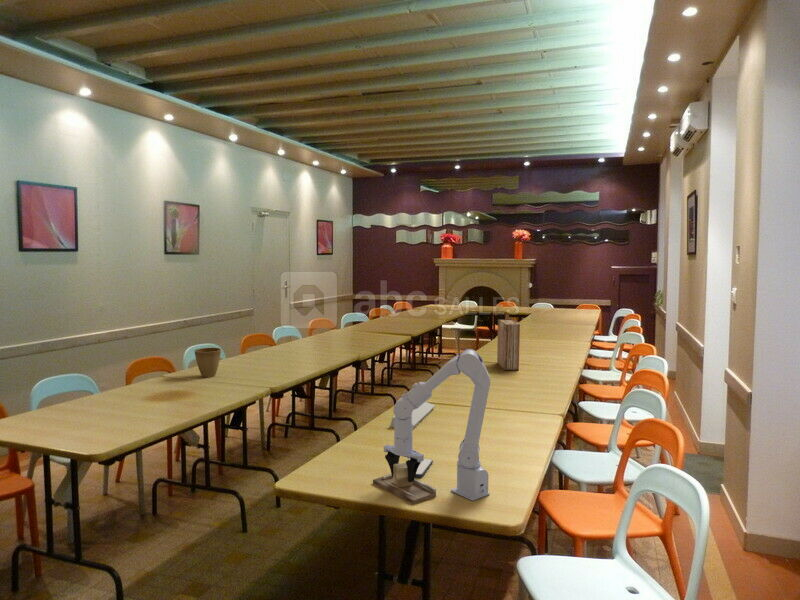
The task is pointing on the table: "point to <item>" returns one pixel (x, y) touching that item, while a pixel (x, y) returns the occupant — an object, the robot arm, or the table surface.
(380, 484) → the board
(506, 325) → the tall wooden block
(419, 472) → the smartphone
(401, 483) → the block
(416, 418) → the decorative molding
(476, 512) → the table surface
